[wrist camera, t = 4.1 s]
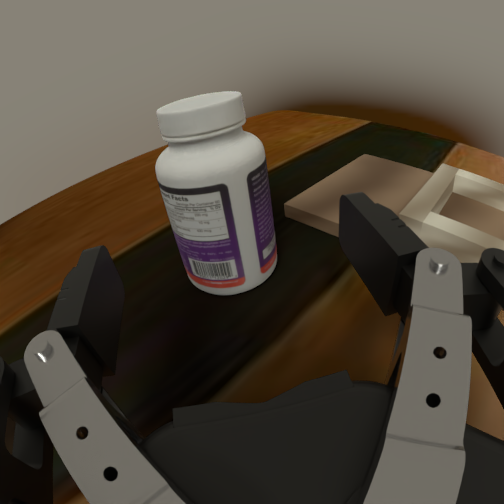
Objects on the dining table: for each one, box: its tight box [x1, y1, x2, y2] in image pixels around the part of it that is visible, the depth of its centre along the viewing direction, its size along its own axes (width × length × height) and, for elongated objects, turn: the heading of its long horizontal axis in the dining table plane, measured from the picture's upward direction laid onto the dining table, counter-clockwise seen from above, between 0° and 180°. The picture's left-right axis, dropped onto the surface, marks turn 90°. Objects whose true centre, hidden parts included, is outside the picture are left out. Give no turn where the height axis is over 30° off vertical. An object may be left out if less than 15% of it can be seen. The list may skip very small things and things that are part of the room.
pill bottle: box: [155, 91, 277, 295], centre depth 16 cm, size 5×5×10 cm
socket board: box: [284, 154, 504, 310], centre depth 20 cm, size 18×12×2 cm, turn 45°
